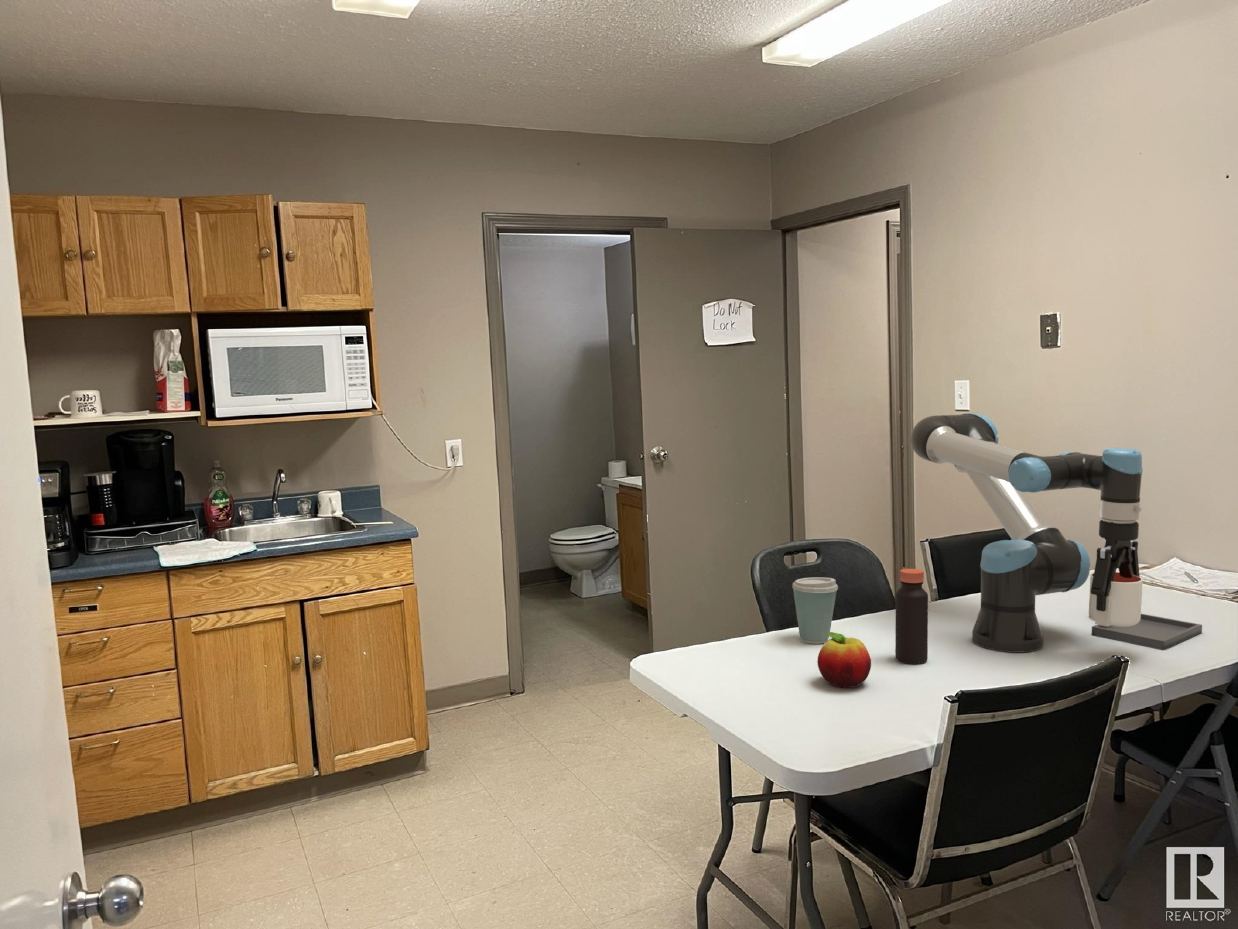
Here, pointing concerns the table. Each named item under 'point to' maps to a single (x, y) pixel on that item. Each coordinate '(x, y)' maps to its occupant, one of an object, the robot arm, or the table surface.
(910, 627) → the bottle
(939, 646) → the table surface
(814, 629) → the disposable coffee cup
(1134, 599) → the cup
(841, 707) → the table surface
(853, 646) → the fruit
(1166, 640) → the tray
